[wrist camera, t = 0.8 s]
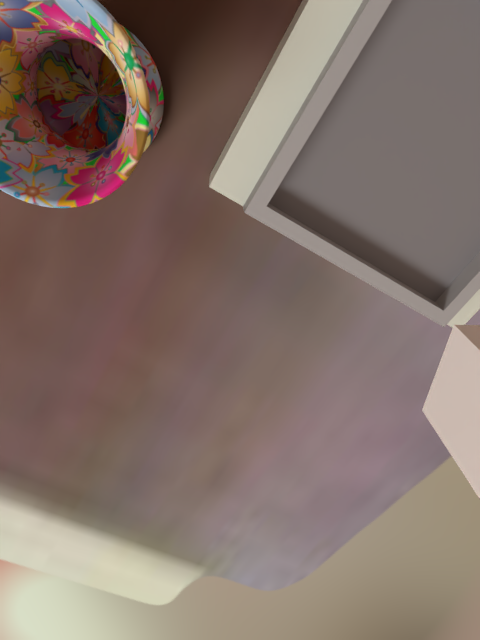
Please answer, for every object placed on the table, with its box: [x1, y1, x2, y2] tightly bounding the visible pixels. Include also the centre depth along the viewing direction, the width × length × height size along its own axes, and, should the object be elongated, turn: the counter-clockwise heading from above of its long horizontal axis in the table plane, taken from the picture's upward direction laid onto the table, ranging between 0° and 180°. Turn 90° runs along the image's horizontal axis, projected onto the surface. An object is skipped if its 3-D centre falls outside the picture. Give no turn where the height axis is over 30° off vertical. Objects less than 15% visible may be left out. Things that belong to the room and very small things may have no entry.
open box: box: [209, 0, 480, 328], centre depth 28 cm, size 26×17×6 cm, turn 60°
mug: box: [0, 0, 164, 208], centre depth 23 cm, size 12×9×11 cm
